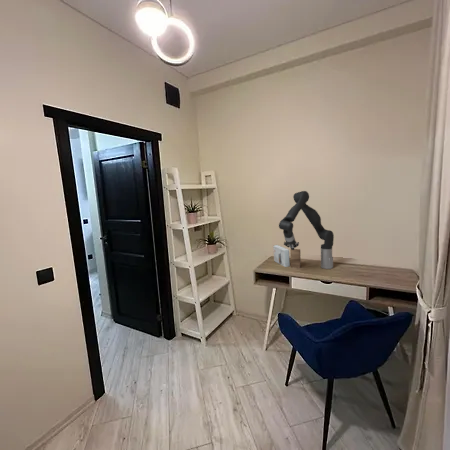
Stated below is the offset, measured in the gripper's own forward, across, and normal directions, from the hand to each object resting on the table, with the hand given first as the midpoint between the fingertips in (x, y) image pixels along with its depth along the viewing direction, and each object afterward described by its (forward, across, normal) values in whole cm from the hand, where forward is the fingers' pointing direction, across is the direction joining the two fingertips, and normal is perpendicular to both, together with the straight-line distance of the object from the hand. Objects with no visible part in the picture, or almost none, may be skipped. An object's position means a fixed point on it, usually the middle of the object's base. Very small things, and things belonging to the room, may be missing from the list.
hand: (292, 249), depth 218 cm
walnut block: (+21, 0, +6) cm, 22 cm away
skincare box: (+26, +14, +1) cm, 30 cm away
